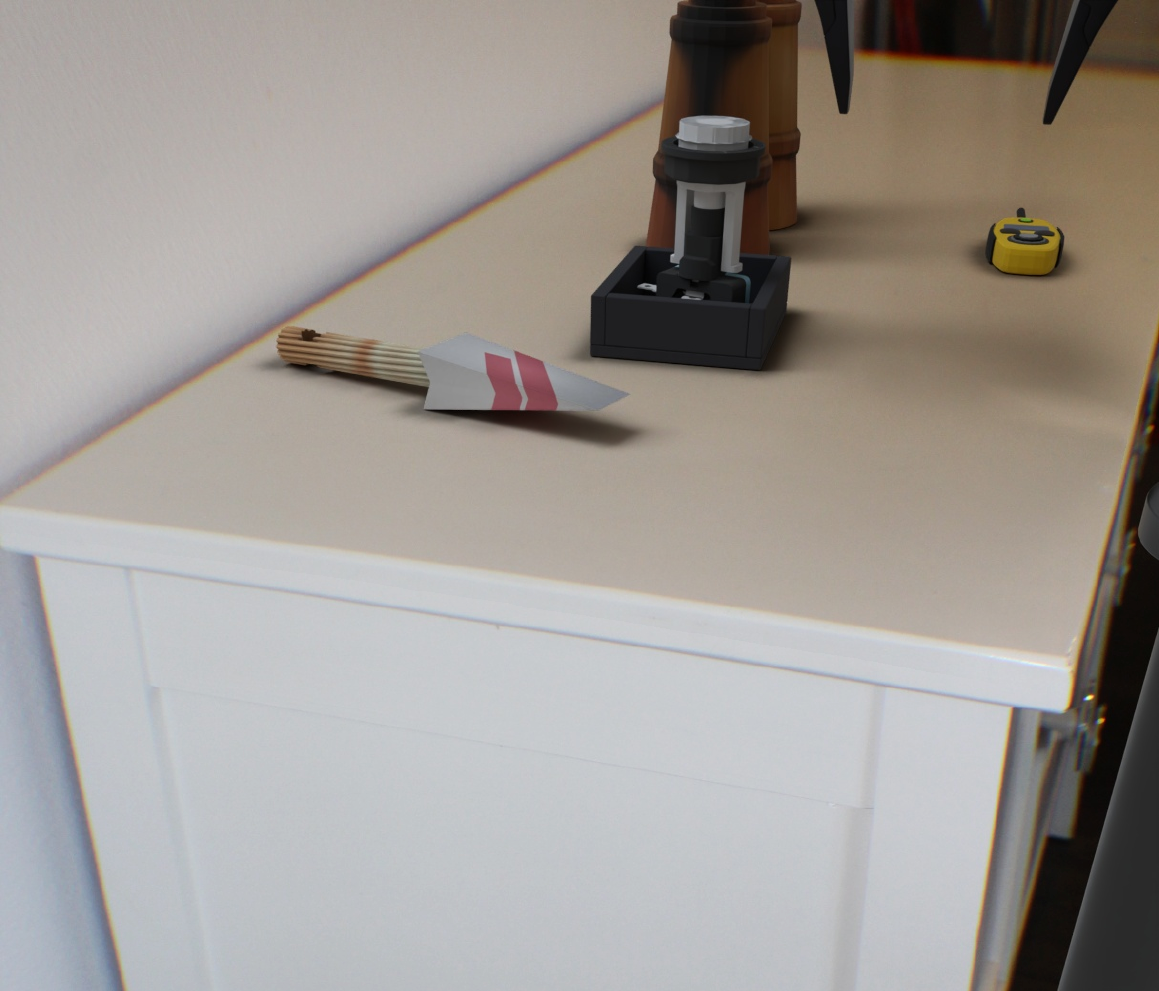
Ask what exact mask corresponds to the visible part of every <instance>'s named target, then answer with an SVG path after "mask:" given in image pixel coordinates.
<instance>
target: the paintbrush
mask: <svg viewBox="0 0 1159 991" xmlns="http://www.w3.org/2000/svg"><path fill="white" fill-rule="evenodd" d="M280 329H281V330H280V332H278V334H277V337H276V340H275V341H276V345H275V348H276V349H277V352H276V354H278V355H279V357H280V359H281V360H283V361H284V362H286V363H290V364H294V365H295V364H296V365H301V366H308V365H309V364H310V365H316V367H317V368H321V369H327V370H331V371H337V372H341V373H347V374H353V375H357V376H358V375H359V376H364V377H368V378H373V379H375V378H376V379H380V380H386V381H392V382H398V383H402V384H403V383H404V384H409V385H415V386H420V387H426V388H428V389H427V394H426V396H425V401H424V405H423V410H453V411H454V410H455V411H456V410H457V411H458V410H460V411H461V410H462V411H463V410H465V411H466V410H471V411H475V410H477V411H574V412H575V411H576V412H577V411H578V412H580V411H581V412H598V411H601V410H604V409H605V408H607V407H608V406H611V405H612V404H615V403H617V402H618V401H620V400H622V399H625V398H627V397H628V396H630V395H631V393H629V392H626V391H623V390H621V389H618V388H615V387H614V386H613V387H612V386H610V385H607V384H605V383H602V382H600V381H597V380H595V379H592V378H589V377H586V376H583V375H581V374H578V373H575V372H573V371H570V370H567V369H565V368H562V367H559V366H558V365H554V364H551V363H550V362H546V361H544V360H542V359H538V358H536V357H534V356H530V355H528V354H525V353H522V352H519V351H518V350H514V349H511V348H509V347H506V346H504V345H502V344H498V343H496V342H493V341H490V340H488V339H485V338H483V337H480V336H477V335H474V334H472V333H469V332H463V333H461V334H458V335H455V336H453V337H451V338H448V339H446V340H444V341H443V340H442V341H441V342H438V343H436V344H433V345H430V346H428V347H420V346H414V345H409V344H408V345H407V344H402V343H395V342H389V341H383V340H379V339H372V338H365V337H359V336H354V335H348V334H341V333H335V332H330V331H326V332H325V333H320V332H316V330H315V329H311V328H305V327H300V326H295V325H286V326H285V327H282V328H280Z"/></svg>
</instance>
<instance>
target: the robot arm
mask: <svg viewBox="0 0 1159 991" xmlns="http://www.w3.org/2000/svg"><path fill="white" fill-rule="evenodd" d="M1118 2H1119V0H1073V1H1072V5H1071V8H1070V12H1069V15H1068V18H1067V21H1066V25H1065V29H1064V32H1063V35H1062V39H1061V42H1060V45H1059V49H1058V52H1057V55H1056V58H1055V61H1054V66H1053V69H1052V72H1051V75H1050V79H1049V82H1048V87H1047V92H1046V97H1045V103H1044V108H1043V109H1044V110H1043V115H1042V125H1045V126H1051V125H1053V122H1054V121H1055V119H1056V116H1057V114H1058V113H1059V111H1060V109H1061V107H1062V105H1063V102H1064V101H1065V99H1066V97H1067V95H1068V93H1069V91H1070V89H1071V87H1072V85H1073V83H1074V81H1075V79H1076V77H1077V75H1078V73H1079V71H1080V69H1081V67H1082V65H1083V63H1084V61H1085V60H1086V57H1087V55H1088V53H1089V51H1090V49H1091V47H1092V45H1093V43H1094V41H1095V39H1096V37H1097V35H1098V34H1099V32H1100V30H1101V29H1102V27H1103V25H1104V23H1105V22H1106V20H1107V19H1108V18H1109V16H1110V14H1111V13H1112V12H1113V9H1114V8H1115V6H1116V5H1117V3H1118ZM814 3H815V7H816V9H817V14H818V15H819V20H820V24H821V30H822V34H823V38H824V43H825V49H826V53H827V58H828V64H829V69H830V74H831V79H832V84H833V88H834V89H833V90H834V95H835V99H836V104H837V109H838V113H839V115H848V113H849V112H850V110H851V109H850V107H851V102H852V92H853V84H854V74H855V73H854V72H855V0H814Z"/></svg>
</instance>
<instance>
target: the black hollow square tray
mask: <svg viewBox="0 0 1159 991" xmlns="http://www.w3.org/2000/svg"><path fill="white" fill-rule="evenodd" d="M674 250H675V248H663V247H647V246H646V245H634V246H633V247H632V248H631V249H630V250H629V251H628V253H627V254H626V255H625V256H624V257H623V259H621V261H619V263H618V264H617V265H616V266H615V268H614V269H613V270H612V271H610V274H608V276H607V277H606V278H605V279H604V280H603V281H602V282H601V283H600V285H599V286H598V287H597V288H596V289H595V290H594V291H593V293H592V294H591V295H590V322H589V324H590V327H589V329H590V330H589V332H590V336H589V343H590V345H589V355H590V356H591V357H600V358H613V359H624V360H635V361H645V362H646V361H647V362H659V363H668V364H669V363H670V364H682V365H693V366H694V365H695V366H704V367H705V366H706V367H715V368H718V367H719V368H730V369H738V370H739V369H740V370H752V371H761V369H762V366H763V365H764V362H765V361H766V359H767V356H768V354H769V351H770V349H771V347H772V345H773V342H774V341H775V338H776V336H777V334H778V332H779V329H780V328H781V325H782V323H783V320H784V319H785V316H786V314H787V310H788V303H787V302H788V298H789V289H790V278H791V267H792V256H790V255H789V256H788V255H787V256H786V255H775V254H769V255H763V254H749V253H740V254H739V263H742V264H743V265H742V271H740V272H738V275H744V276H747V277H749V279H750V282H751V285H750V298H749V304H748V303H735V302H722V301H709V300H696V299H683V298H670V297H657V296H656V292H653V291H652V290H647V289H641V288H638V287H637V286H638V285H641V284H643V283H646V284H651V285H656V283H657V275H658V274H659V273H660V272H663V271H665V270H668V269H670V268H673V267H675V266H677V265H679V264H677V263H672V262H670V260H671V255H672V254H674Z"/></svg>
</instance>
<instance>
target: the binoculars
mask: <svg viewBox="0 0 1159 991" xmlns="http://www.w3.org/2000/svg"><path fill="white" fill-rule="evenodd" d="M676 6H677V7H676V14H673V15H671V17H670V18H669V29H668V30H669V32H668V33H669V37H670V39H671V41H670V49H669V57H668V65H667V73H666V81H665V90H664V96H663V105H662V114H661V122H660V131H659V138H658V147H657V150H656V152H655V154H654V156H653V158H652V175H653V177H654V179H655V180H654V187H653V194H652V200H651V208H650V213H649V221H648V228H647V235H646V241H645V246H647V247H663V248H675V230H676V209H677V180H674V179H672V178H671V177H669V176H668V175H666V174H665V172H664V168H665V153H664V152H662V151H661V142H662V141H663V140H664V139H666V138H670V137H674V136H675V135H676V134H677V133H679V125H680V120H681V119H683V118H687V117H695V116H725V117H735V118H740V119H745V120H747V121H749V122H750V128H749V135H751V136H752V139H756V140H759V141H762V142H764V143H765V145H766V147H765V154H764V155H762V156H761V157H760V169H759V176H758V177H757V178H756V179H755V180H752V181H747V182H745V190H744V200H743V213H742V227H741V240H740V253H749V254H763V255H770V251H771V250H770V231H775V230H781V229H784V228H788V227H791V226H792V225H794V224H796V223H797V222H798V190H797V189H798V187H797V186H798V184H797V179H798V178H797V155H798V154H799V151H800V146H801V136H802V132H801V130H800V129H799V127H798V95H799V94H798V92H799V90H798V89H799V88H798V87H799V83H798V82H799V76H798V75H799V23H800V20H801V18H802V10H803V8H802V7H803V4H802V2H801V1H798V0H680V1H677V5H676Z"/></svg>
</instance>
